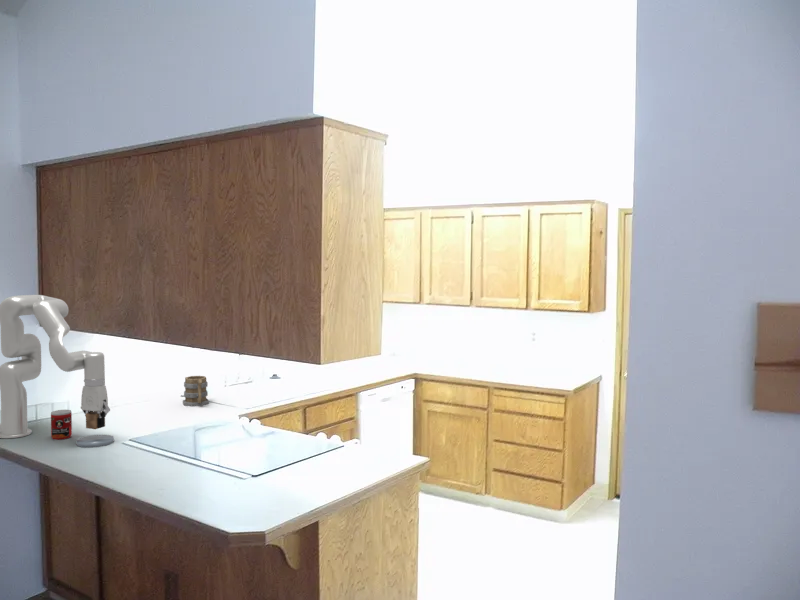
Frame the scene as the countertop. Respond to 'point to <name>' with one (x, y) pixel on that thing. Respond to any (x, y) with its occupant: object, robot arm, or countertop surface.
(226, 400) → the countertop surface
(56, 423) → the canned food
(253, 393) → the countertop surface
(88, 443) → the dish
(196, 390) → the tankard
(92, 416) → the walnut block
